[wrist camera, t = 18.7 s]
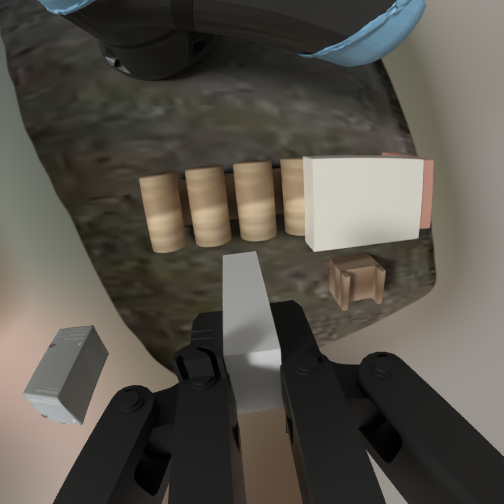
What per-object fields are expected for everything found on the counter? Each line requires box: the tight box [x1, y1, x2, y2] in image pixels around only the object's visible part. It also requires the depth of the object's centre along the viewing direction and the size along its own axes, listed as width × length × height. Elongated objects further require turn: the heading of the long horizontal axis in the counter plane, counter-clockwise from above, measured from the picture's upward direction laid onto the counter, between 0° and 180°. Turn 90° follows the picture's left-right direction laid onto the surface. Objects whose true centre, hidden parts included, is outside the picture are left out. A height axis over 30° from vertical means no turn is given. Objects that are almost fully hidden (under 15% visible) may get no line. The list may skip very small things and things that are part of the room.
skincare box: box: [23, 325, 108, 425], centre depth 35 cm, size 8×7×16 cm
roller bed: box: [139, 157, 305, 253], centre depth 33 cm, size 8×30×7 cm, turn 95°
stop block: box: [382, 152, 434, 229], centre depth 32 cm, size 8×2×9 cm, turn 5°
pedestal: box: [329, 253, 386, 311], centre depth 39 cm, size 5×6×6 cm
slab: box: [303, 155, 424, 252], centre depth 29 cm, size 9×13×3 cm
